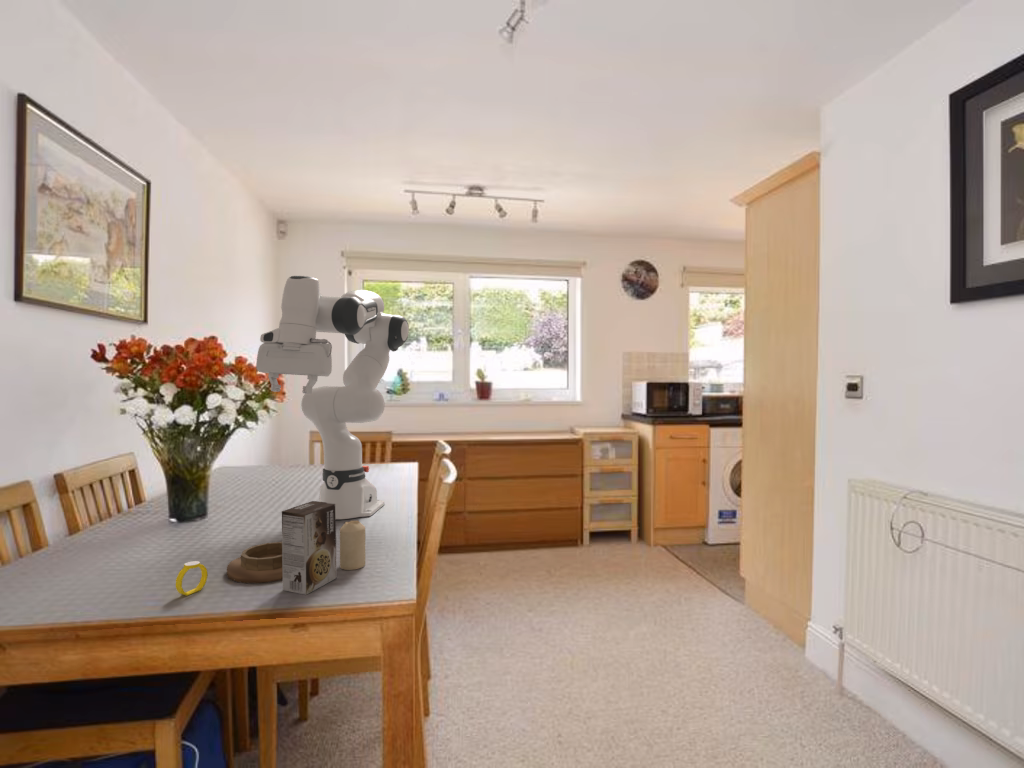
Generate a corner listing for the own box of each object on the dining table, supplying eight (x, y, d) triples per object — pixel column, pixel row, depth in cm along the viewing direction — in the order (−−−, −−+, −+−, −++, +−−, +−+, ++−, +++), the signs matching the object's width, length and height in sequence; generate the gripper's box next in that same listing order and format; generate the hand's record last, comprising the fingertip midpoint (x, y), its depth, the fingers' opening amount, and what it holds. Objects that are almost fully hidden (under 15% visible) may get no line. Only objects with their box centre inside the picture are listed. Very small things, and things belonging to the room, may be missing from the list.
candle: (358, 571, 117) (357, 526, 117) (335, 569, 118) (335, 524, 118) (369, 562, 123) (369, 519, 122) (347, 560, 124) (347, 517, 124)
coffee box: (313, 574, 115) (312, 500, 115) (337, 578, 113) (337, 502, 113) (280, 590, 107) (280, 510, 107) (306, 595, 105) (305, 513, 104)
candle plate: (264, 552, 129) (263, 535, 129) (326, 558, 125) (325, 541, 125) (207, 578, 113) (207, 559, 113) (277, 587, 109) (276, 567, 109)
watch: (199, 587, 109) (201, 558, 109) (209, 589, 108) (211, 559, 108) (172, 597, 103) (173, 565, 104) (182, 599, 103) (184, 567, 103)
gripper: (339, 341, 135) (334, 395, 134) (272, 339, 141) (267, 391, 140) (324, 337, 129) (318, 394, 128) (255, 334, 135) (249, 389, 134)
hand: (291, 392), depth 134 cm, fingers open, 8 cm apart
